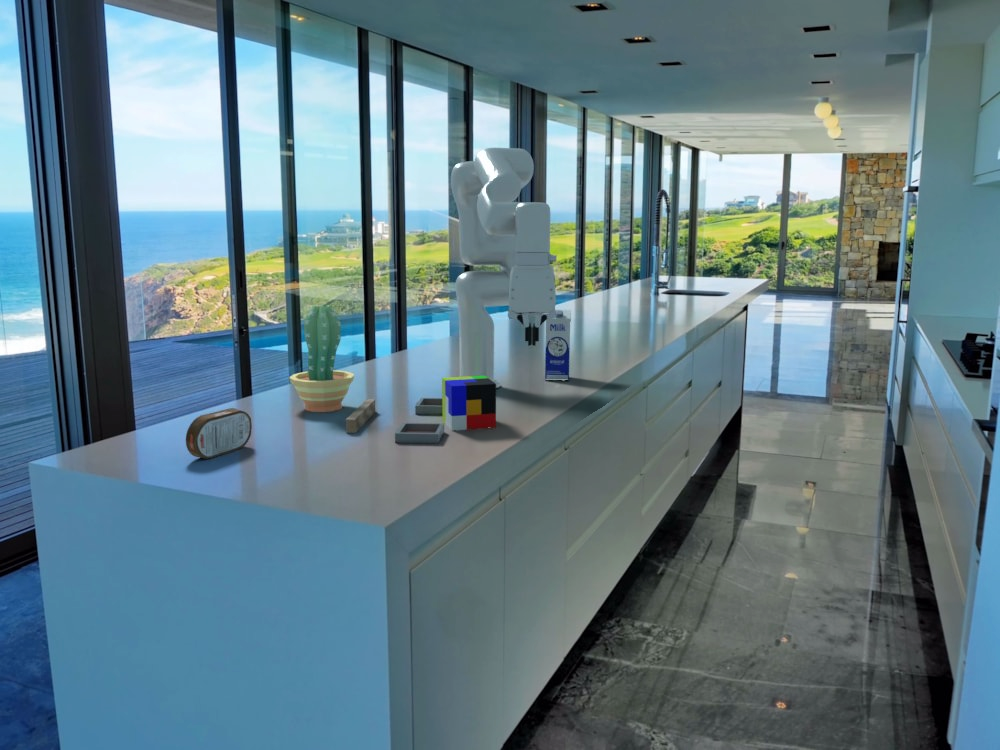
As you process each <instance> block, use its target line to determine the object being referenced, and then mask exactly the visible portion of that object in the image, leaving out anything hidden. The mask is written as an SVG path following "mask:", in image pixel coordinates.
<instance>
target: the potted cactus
mask: <svg viewBox="0 0 1000 750" xmlns="http://www.w3.org/2000/svg"><path fill="white" fill-rule="evenodd" d="M303 329H304V339H305V343H306V345H307V349H308V350H307V371H302V372H298V373H294V374H292V375H291V376H289V377H288V378H289V380H290V384H292V385H293V386H294V388H295V389H294V390H295V391H296V393H297V396H298V397H299V398H300V400H301V401H302V402H303V404H305V405H304V410H306V411H307V412H311V413H313V412H314V413H326V412H328V413H329V412H335V411H339V410H341V409H342V408H343V404H342V402H343V401H344V399H345V397H346V396H347V394H348V392H349V389H350V385H351V384H352V382H354V380H355V374H354V373H352V372H350V371H345V370H339V369H338V370H334V369H335V359H336V355H337V351H338V348H339V345H340V342H341V339H342V338H341V335H342V332H341V331H342V323H341V321H340V319H339V317H338V316H337V314H336V313H335V311H334V310H333V308H332V307H331V305H329V304H328V305H326V306H324V305H323V304H319V306H318V305H313V306H312V307H311V309H310V310H309V311H308V313H307V315H306V316H305V318H304V321H303Z"/></svg>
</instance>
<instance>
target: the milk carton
mask: <svg viewBox="0 0 1000 750" xmlns="http://www.w3.org/2000/svg"><path fill="white" fill-rule="evenodd" d="M555 310H556V314H557V316H556V318H552V319H548V320H545V352H544V353H545V359H544V361H545V364H544V370H545V371H544V372H545V373H544V380H545V379H569V380H570V357H571V356H570V353H571V351H570V350H571V344H570V343H571V323H572V321H571V320H572V310H571V309H555ZM545 314H547V313H545Z"/></svg>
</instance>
